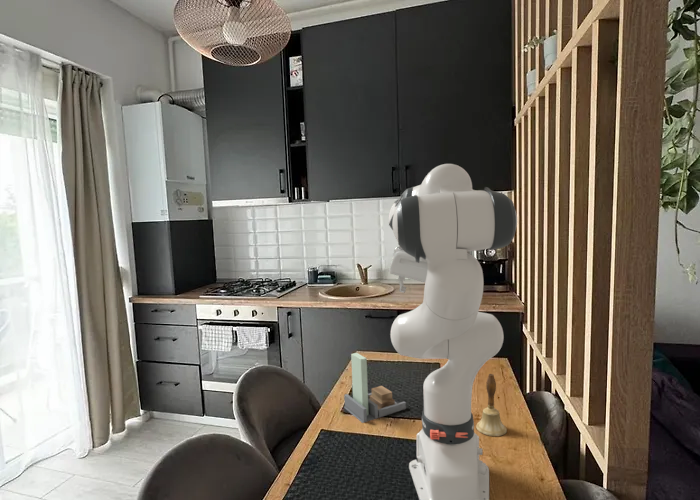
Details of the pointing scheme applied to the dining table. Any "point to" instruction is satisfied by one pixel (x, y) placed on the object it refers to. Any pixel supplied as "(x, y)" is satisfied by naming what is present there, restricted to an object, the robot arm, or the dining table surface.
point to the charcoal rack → (370, 409)
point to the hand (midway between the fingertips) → (416, 295)
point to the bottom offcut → (382, 405)
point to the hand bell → (491, 413)
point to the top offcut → (381, 394)
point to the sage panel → (360, 380)
